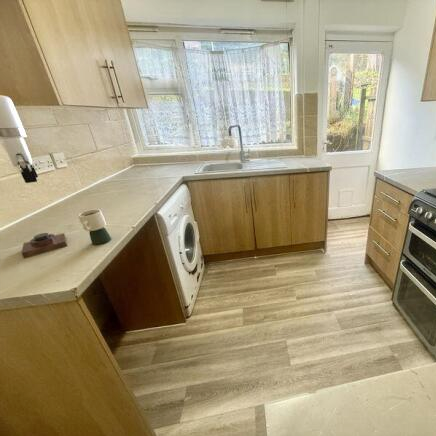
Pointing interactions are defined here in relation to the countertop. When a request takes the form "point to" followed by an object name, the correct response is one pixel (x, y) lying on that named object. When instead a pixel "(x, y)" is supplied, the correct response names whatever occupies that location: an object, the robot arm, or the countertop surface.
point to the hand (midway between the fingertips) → (32, 179)
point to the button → (41, 236)
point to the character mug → (95, 226)
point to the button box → (44, 245)
